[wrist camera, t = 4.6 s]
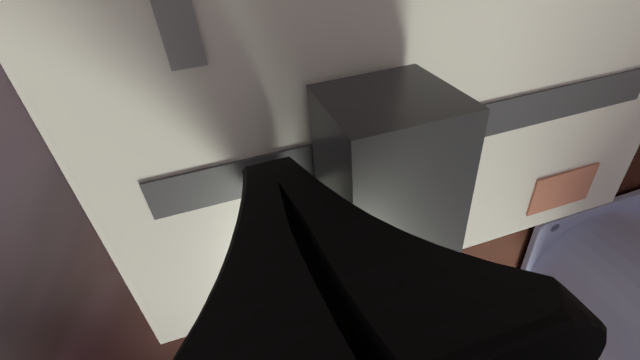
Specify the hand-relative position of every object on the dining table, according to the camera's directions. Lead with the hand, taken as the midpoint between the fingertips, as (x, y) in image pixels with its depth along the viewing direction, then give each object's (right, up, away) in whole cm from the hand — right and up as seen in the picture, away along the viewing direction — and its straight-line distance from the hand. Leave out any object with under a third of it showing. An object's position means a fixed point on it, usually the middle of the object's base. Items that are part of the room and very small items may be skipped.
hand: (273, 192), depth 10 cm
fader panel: (+4, +3, +3) cm, 6 cm away
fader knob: (+3, +1, +1) cm, 3 cm away
